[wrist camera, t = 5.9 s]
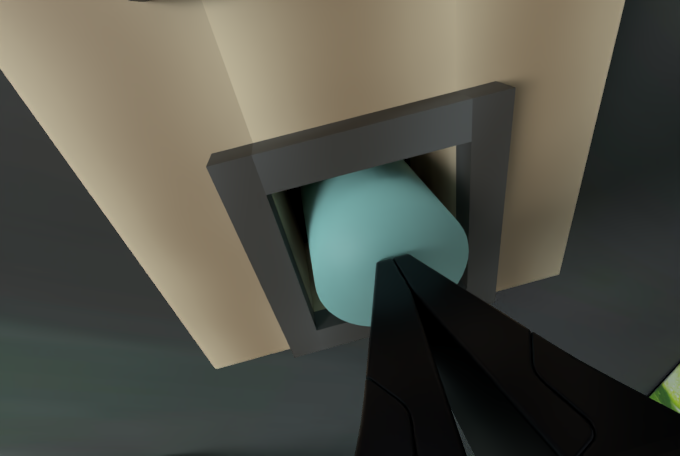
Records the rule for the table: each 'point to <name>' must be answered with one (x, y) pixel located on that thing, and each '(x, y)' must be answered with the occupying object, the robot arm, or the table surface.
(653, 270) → the table surface
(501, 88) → the oak block
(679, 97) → the table surface
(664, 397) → the snack box
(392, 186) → the peg teal
